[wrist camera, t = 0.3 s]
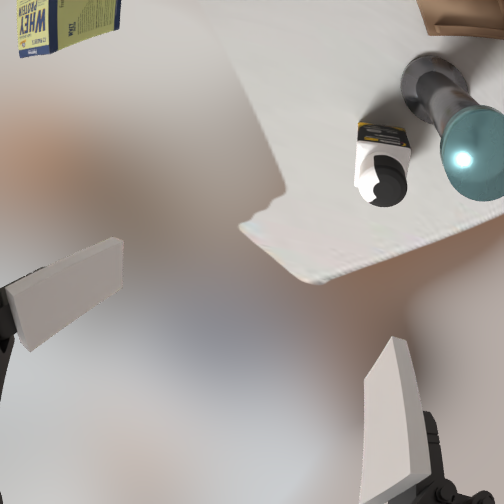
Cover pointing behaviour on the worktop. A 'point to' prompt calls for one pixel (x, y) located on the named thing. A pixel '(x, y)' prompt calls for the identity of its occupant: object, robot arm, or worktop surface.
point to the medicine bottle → (381, 163)
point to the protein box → (62, 23)
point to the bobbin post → (458, 127)
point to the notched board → (463, 17)
